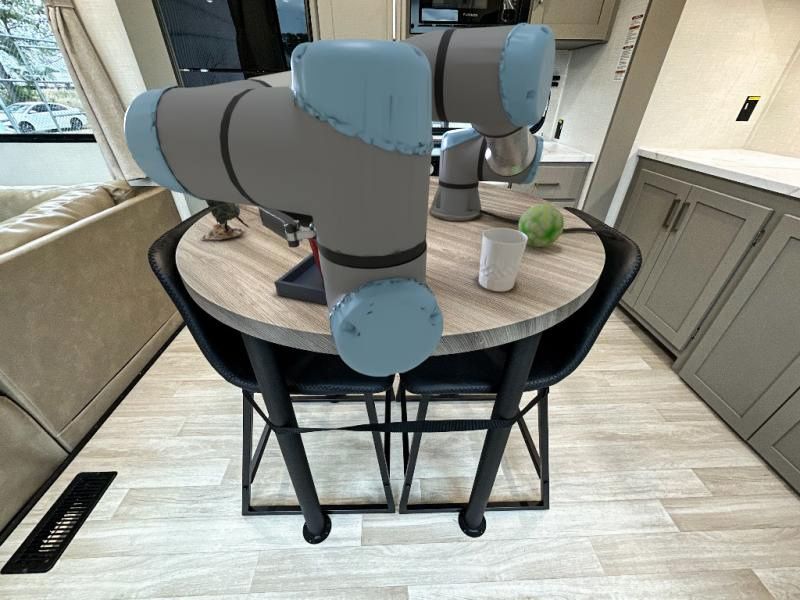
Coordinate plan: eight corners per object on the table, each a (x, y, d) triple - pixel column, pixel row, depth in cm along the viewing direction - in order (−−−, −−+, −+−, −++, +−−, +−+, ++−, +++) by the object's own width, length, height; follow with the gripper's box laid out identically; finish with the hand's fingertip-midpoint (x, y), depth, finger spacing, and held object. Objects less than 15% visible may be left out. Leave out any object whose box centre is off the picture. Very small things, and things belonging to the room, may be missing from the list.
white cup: (471, 274, 67) (477, 228, 61) (508, 272, 67) (517, 226, 62) (482, 294, 60) (490, 244, 55) (523, 292, 61) (535, 243, 55)
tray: (391, 268, 69) (391, 256, 67) (359, 311, 55) (358, 297, 54) (322, 257, 73) (320, 246, 71) (277, 295, 60) (274, 281, 58)
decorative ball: (539, 257, 73) (551, 214, 68) (506, 242, 80) (514, 202, 75) (566, 248, 78) (579, 206, 72) (532, 234, 85) (541, 196, 79)
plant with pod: (240, 243, 80) (215, 156, 69) (197, 241, 81) (165, 154, 70) (256, 231, 86) (235, 149, 75) (216, 229, 87) (190, 148, 76)
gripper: (234, 297, 32) (253, 224, 49) (463, 265, 38) (409, 209, 55) (209, 225, 28) (239, 172, 45) (470, 201, 34) (409, 162, 51)
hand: (332, 192), depth 50 cm, fingers open, 13 cm apart
